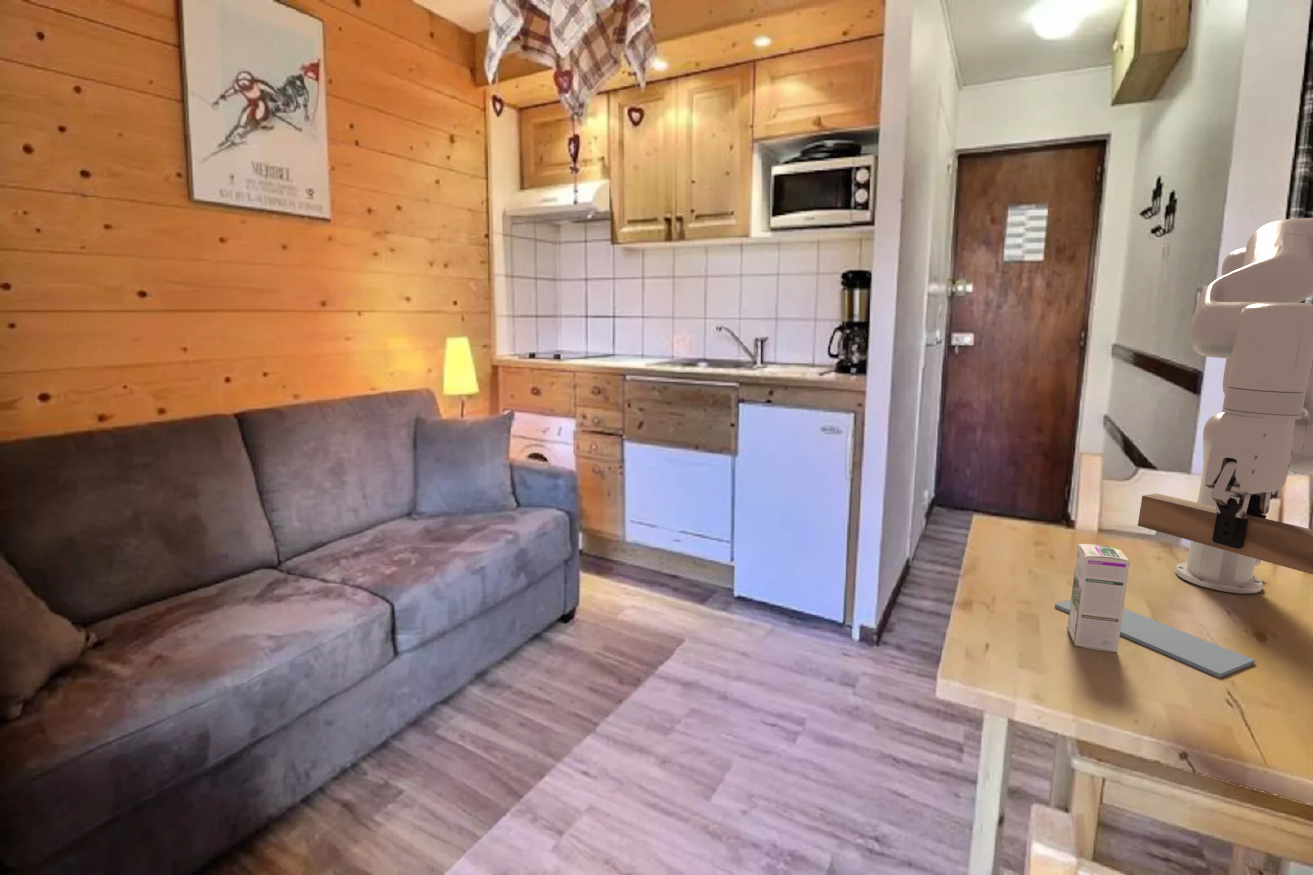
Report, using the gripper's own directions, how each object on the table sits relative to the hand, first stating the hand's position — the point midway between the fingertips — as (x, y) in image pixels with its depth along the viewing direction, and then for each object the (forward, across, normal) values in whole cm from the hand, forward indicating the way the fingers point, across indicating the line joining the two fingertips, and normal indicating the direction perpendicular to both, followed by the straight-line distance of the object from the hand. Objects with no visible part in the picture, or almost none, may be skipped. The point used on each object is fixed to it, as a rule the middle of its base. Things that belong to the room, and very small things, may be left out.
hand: (1236, 541), depth 89 cm
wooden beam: (+1, 0, 0) cm, 1 cm away
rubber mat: (+20, -7, -12) cm, 24 cm away
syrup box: (+20, +4, -14) cm, 25 cm away
